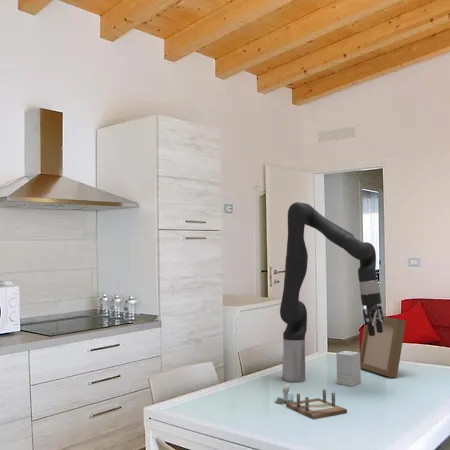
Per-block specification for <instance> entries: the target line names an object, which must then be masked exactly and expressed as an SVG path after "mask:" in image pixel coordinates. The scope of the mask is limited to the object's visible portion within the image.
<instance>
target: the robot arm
mask: <svg viewBox="0 0 450 450" xmlns="http://www.w3.org/2000/svg"><path fill="white" fill-rule="evenodd" d="M305 226H308V227H311V228H313V229H315V230H317V231H318V232H320V233H321V235H323V236H324V237H325V238H326V239H328V240H329V241H330V242H331V243H332V244H335V245H337V247H340V248H341V249H343V250H344V251H345V252H346V253H348V255H350V256H351V257H353V258H355V259H356V260H358V261H359V267H358V269H357V276H358V277H357V278H358V283H359V284H358V285H359V293H360V301H361V305H362V306H363V307H366V308H363V309H362V314H363V323H364V325H367V326H368V331H369V336H375V330H374V321H375V322H376V328H377V333H382V332H383V328H382V321H383V320H384V318H383V317H384V313H383V307H382V305H380V304H382V297H381V296H382V295H381V291H380V285H379V281H378V274H377V271H376V266H377V251H376V249H375V246H374V245H373V244H372V243H371V242H367V241H366V242H365V241H364V242H363V241H362V240H360V239H357V238H356V237H355V236H354V234H353V233H351V232H349V230H346V229H345V228H343V227H341V226H340V225H337V223H336V224H335V222H332V221H331V220H329V219H328V218H326V217H325V216H323V215H322V214H321V213H319V211H317V210H316V209H315V208H314V207H313V206H312V205H310V204H309V203H304V202H297V201H296V202H293V203H291V204H290V206H289V208H288V210H287V239H286V240H287V242H286V243H287V244H286V255H285V263H284V264H285V266H284V280H283V290H282V296H281V297H282V298H281V303H280V307H279V315H280V319H281V320H282V321H283V322H284V323H285V324H286V328H285V330H284V331H283V333H282V336H283V337H282V339H283V340H282V341H283V342H282V344H283V345H282V347H283V349H282V350H283V353H282V363H281V364H282V379H283V380H284V381H285V382H289V383H290V382H292V383H299V382H300V383H301V382H304V381H306V334H307V330H308V327H307V326H308V324H307V323H308V311H307V308H306V305H305V304H304V302H303V301H301V300H300V291H301V288H302V285H303V282H304V281H305V277H306V274H307V269H308V262H309V261H308V260H309V258H308V257H309V255H308V249H307V246H306V242H305V237H304V236H305Z"/></svg>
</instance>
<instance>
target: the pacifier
mask: <svg viewBox="0 0 450 450" xmlns="http://www.w3.org/2000/svg"><path fill="white" fill-rule="evenodd" d="M289 391H290V387H289V385H288V384H286V385H284V387H283V388H282V394H283V395H282V396H279V397H277V396H276V398H275V399H274V402H276V403H280V404H286V403H290V402H291V401H293V400H294V398H295V395H294V394H293V393H289Z"/></svg>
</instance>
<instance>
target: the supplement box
mask: <svg viewBox="0 0 450 450" xmlns="http://www.w3.org/2000/svg"><path fill="white" fill-rule="evenodd" d="M335 356H336V384H337V385H344V386H349V387H354V386H357V385H359V384H361V383H362V380H361V379H362V377H361V373H362V372H361V368H360V352H357V351H349V350H343V351H339V352H337V353H336V355H335Z"/></svg>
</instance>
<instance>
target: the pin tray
mask: <svg viewBox="0 0 450 450" xmlns="http://www.w3.org/2000/svg"><path fill="white" fill-rule="evenodd" d="M285 404H286V405H285V407H286V408H288V409H290V410H293V411H295V412H296V413H299V414H301V415H304V416H305V417H308V418H310V419H311V420H316V419H322V418H323V419H324V418H329V417H334V416H339V415H343V414H348V409H346V408H344V407H342V406H340V405H337V404H336V392H331V402H329V401H327V389H322V399H321V398H320V397H317V398H312V399H310V398H309V396H305V397H304V400H301V393H296V401H292V402H291V401H290V402H288V403H285Z"/></svg>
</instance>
